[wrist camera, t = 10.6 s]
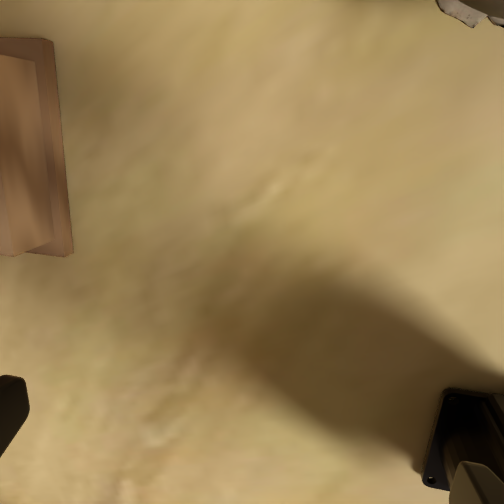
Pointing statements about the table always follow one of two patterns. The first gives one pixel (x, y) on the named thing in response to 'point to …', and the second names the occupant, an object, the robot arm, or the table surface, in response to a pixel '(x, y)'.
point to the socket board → (51, 134)
